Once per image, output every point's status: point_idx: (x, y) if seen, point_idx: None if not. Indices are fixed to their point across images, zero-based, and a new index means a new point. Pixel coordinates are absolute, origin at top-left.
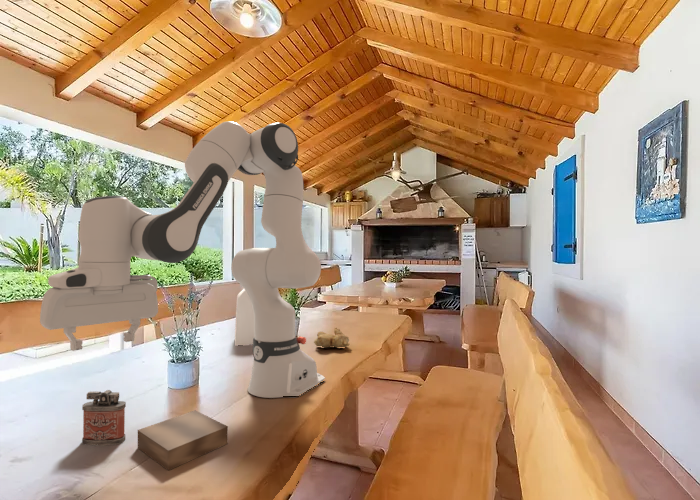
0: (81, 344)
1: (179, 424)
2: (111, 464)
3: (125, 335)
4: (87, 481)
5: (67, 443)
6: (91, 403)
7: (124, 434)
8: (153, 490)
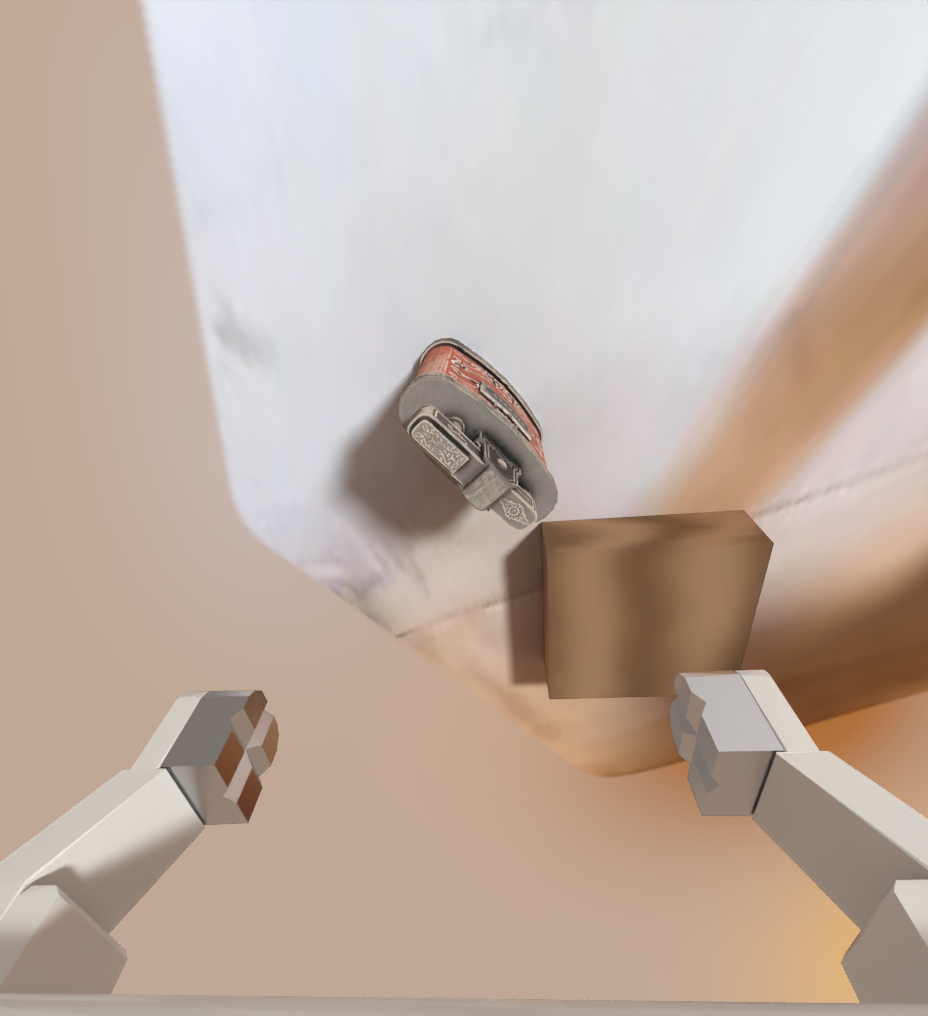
0: (256, 782)
1: (657, 604)
2: (457, 556)
3: (704, 750)
4: (395, 589)
5: (379, 323)
6: (437, 406)
7: (540, 438)
8: (490, 693)
